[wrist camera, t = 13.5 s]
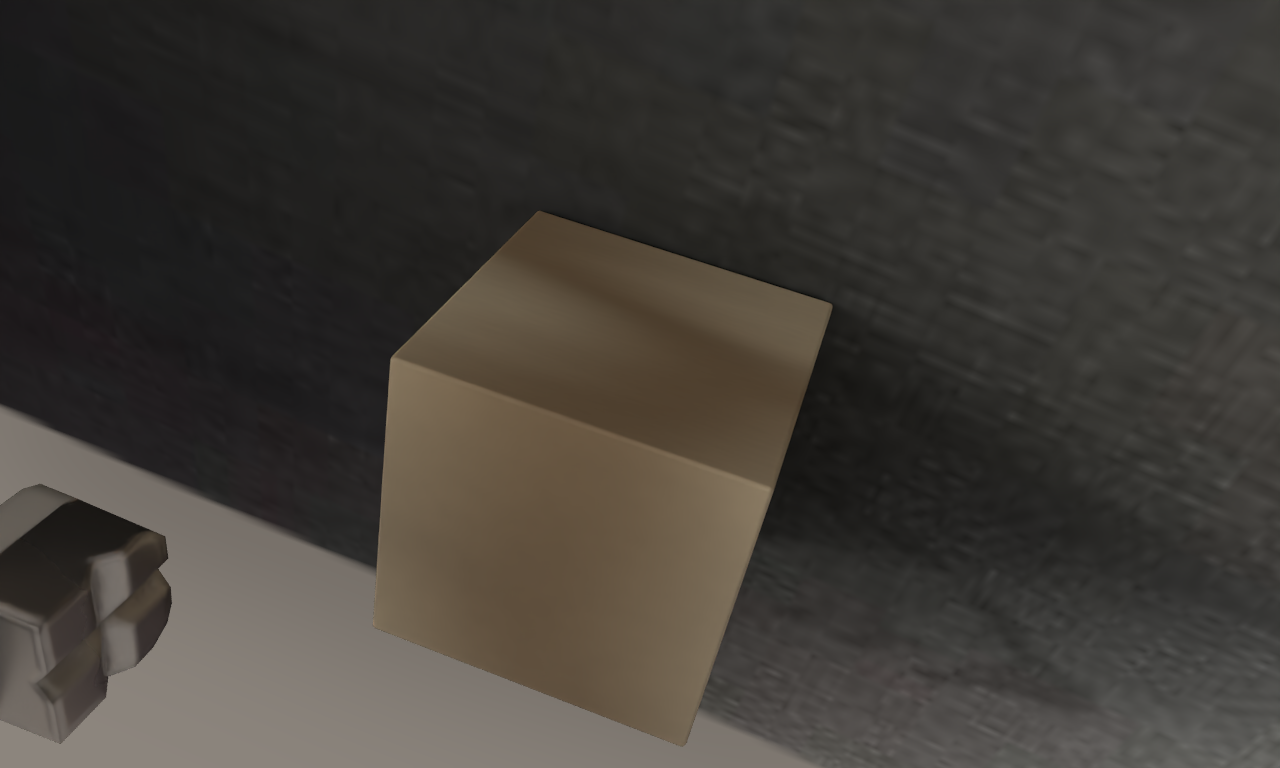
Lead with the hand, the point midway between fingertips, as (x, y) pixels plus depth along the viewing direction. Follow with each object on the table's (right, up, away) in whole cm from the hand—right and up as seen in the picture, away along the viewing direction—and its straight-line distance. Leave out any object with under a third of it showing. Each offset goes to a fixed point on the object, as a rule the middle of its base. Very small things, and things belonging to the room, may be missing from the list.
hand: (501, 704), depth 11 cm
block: (+2, +3, +5) cm, 6 cm away
